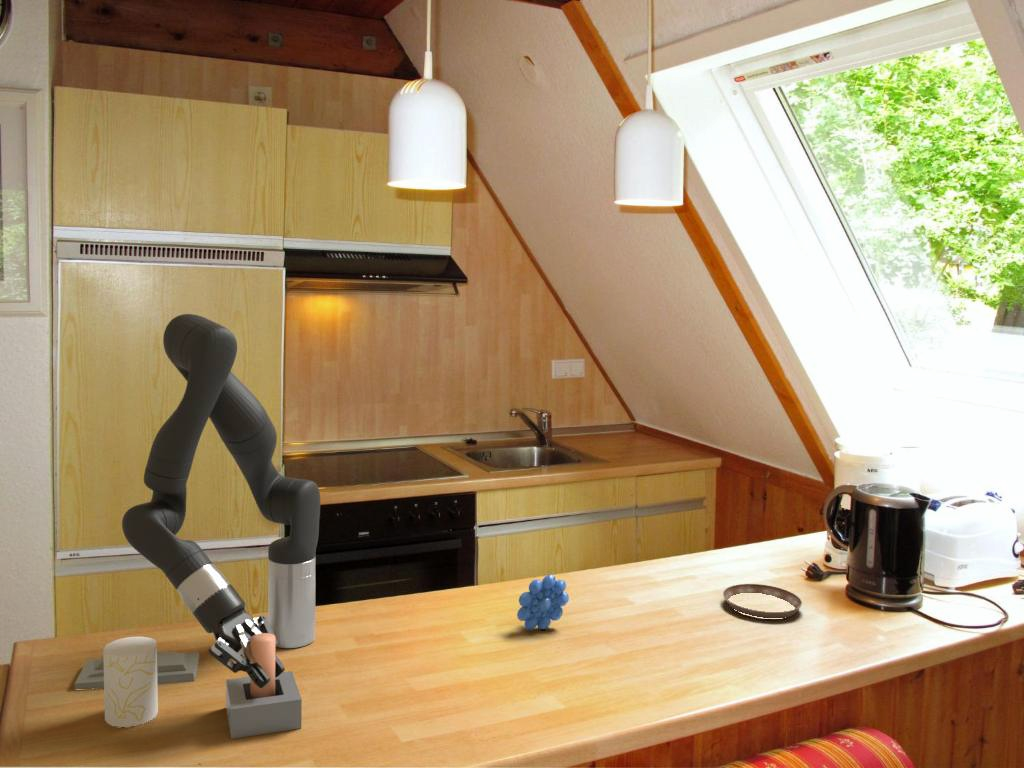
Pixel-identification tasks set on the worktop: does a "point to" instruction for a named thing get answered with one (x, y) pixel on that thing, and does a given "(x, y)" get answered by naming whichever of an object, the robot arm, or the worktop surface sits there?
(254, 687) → the peg
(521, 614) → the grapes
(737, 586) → the dark grey ring
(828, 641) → the worktop surface
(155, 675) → the white patterned cylinder
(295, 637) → the robot arm
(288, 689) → the socket block
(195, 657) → the soap mold
